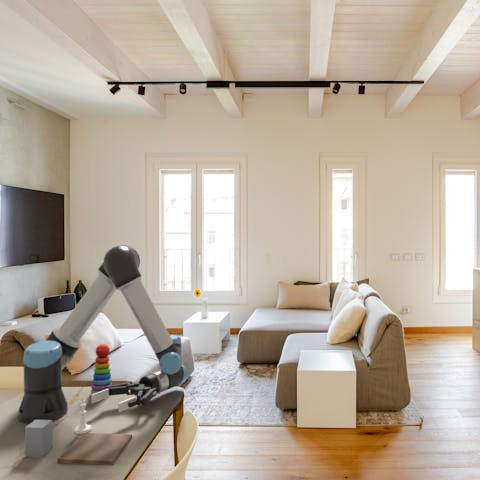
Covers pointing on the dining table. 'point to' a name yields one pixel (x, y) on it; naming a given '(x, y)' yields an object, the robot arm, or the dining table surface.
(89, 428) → the chess piece
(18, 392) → the dining table surface
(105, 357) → the stacking toy
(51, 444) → the slate block
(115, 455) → the walnut pad
